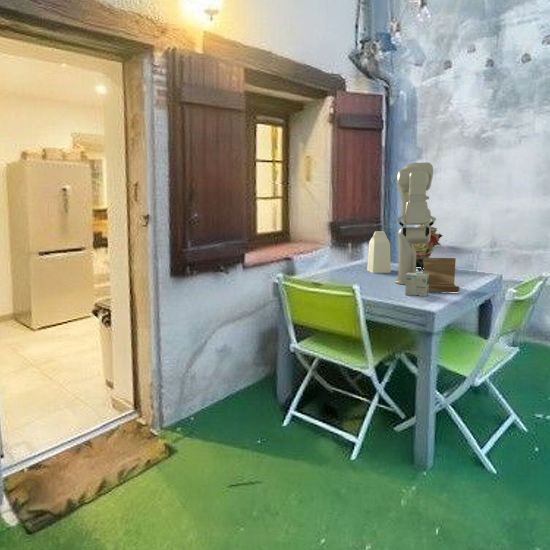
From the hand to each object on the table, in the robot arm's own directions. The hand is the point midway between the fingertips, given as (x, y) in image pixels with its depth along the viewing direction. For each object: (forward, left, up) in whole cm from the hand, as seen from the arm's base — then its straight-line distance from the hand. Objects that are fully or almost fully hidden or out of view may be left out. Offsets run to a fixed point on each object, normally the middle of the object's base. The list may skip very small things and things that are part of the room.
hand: (415, 236), depth 217 cm
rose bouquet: (-95, +12, -31) cm, 101 cm away
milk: (-82, -15, -31) cm, 89 cm away
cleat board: (-28, +16, -31) cm, 45 cm away
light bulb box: (-15, +3, -31) cm, 35 cm away
